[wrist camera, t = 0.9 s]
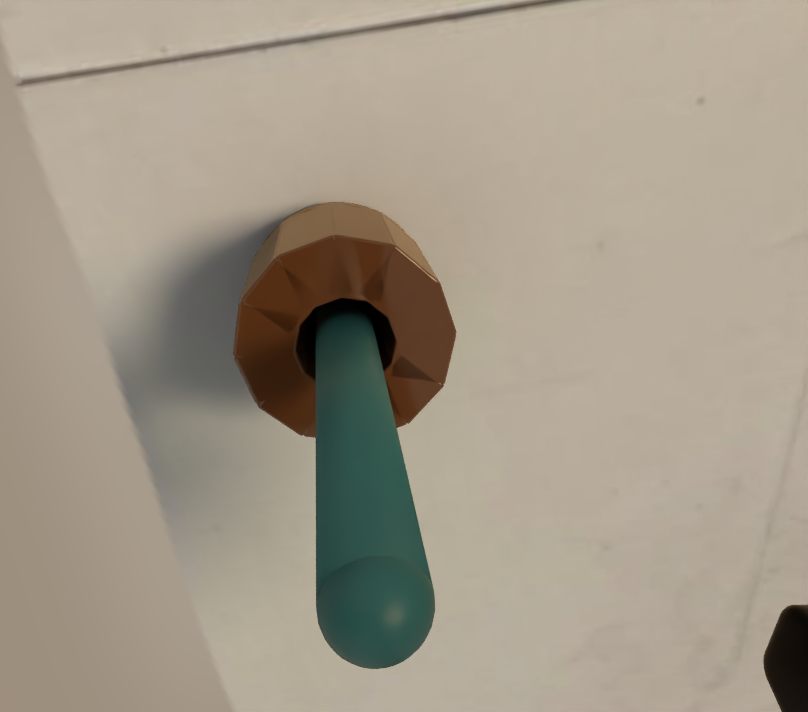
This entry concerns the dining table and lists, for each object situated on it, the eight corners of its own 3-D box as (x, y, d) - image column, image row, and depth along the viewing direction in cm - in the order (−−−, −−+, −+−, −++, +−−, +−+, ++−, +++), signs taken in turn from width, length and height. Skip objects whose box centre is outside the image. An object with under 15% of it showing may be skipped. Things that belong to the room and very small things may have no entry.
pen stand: (446, 334, 21) (479, 399, 17) (292, 390, 21) (286, 469, 17) (392, 175, 19) (414, 205, 15) (222, 238, 19) (196, 285, 15)
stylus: (371, 307, 20) (459, 671, 8) (326, 324, 20) (343, 713, 8) (354, 262, 19) (422, 581, 7) (308, 280, 19) (296, 626, 7)
